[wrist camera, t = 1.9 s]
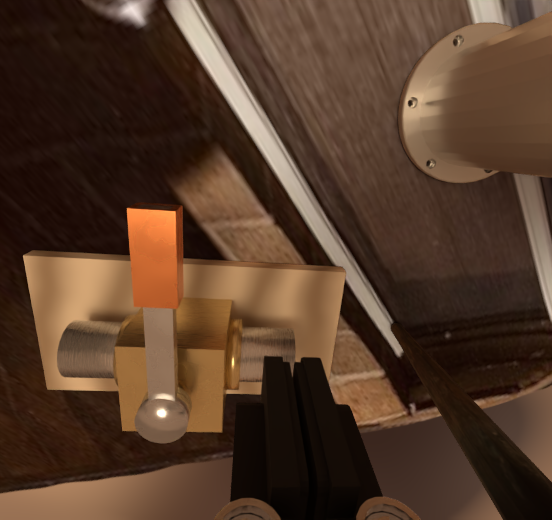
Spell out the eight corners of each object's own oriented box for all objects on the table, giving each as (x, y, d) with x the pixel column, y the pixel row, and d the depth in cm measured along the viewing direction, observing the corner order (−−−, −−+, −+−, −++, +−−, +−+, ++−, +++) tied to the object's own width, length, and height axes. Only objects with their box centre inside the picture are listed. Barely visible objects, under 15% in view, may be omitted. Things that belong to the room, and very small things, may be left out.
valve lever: (192, 423, 26) (187, 443, 24) (143, 422, 26) (136, 442, 24) (190, 205, 20) (184, 212, 19) (129, 201, 20) (117, 207, 18)
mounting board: (342, 266, 34) (346, 272, 33) (324, 386, 39) (326, 395, 38) (33, 250, 32) (22, 255, 31) (55, 379, 37) (47, 389, 36)
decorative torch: (353, 321, 37) (681, 927, 8) (407, 285, 36) (991, 845, 7) (385, 361, 39) (734, 958, 11) (437, 328, 38) (981, 897, 9)
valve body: (292, 302, 34) (305, 360, 25) (285, 368, 36) (294, 443, 27) (84, 292, 32) (18, 352, 23) (93, 363, 35) (37, 440, 26)
